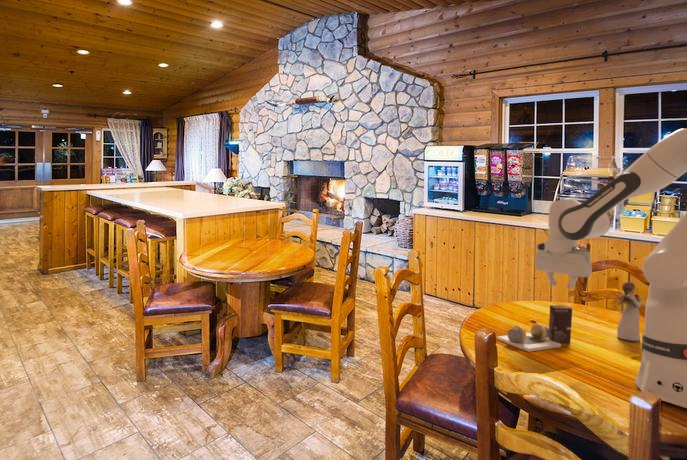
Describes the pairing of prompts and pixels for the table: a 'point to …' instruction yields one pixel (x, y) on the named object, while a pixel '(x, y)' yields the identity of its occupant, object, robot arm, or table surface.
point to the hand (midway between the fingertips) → (561, 286)
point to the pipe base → (529, 338)
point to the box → (560, 323)
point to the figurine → (629, 313)
